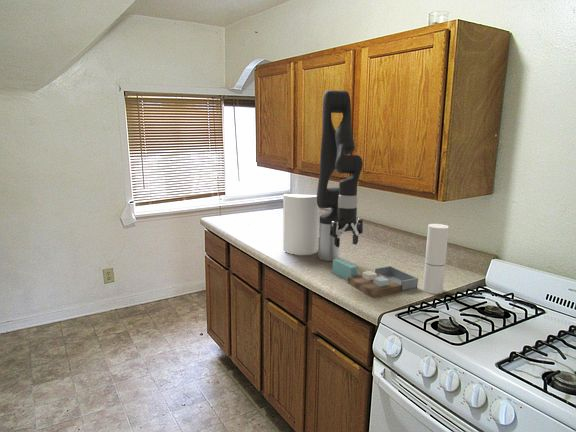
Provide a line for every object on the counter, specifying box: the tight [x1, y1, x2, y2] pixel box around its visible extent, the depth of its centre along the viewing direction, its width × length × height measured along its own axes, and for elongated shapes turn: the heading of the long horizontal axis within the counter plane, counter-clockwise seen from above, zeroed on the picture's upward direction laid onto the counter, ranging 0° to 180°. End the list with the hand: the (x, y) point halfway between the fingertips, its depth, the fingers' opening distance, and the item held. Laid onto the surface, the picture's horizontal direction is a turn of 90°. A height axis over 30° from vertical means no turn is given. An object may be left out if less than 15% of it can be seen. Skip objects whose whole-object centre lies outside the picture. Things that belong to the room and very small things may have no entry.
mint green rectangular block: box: [332, 257, 359, 282], centre depth 170 cm, size 12×4×6 cm, turn 30°
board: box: [347, 271, 402, 299], centre depth 159 cm, size 16×13×2 cm
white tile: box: [361, 270, 377, 280], centre depth 162 cm, size 4×4×2 cm
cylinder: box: [282, 193, 320, 256], centre depth 204 cm, size 17×17×28 cm
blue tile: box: [373, 276, 389, 286], centre depth 156 cm, size 4×4×2 cm
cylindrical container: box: [422, 223, 450, 295], centre depth 154 cm, size 7×7×25 cm
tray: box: [374, 265, 419, 292], centre depth 163 cm, size 16×8×4 cm, turn 27°
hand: (346, 245), depth 167 cm, fingers open, 8 cm apart
